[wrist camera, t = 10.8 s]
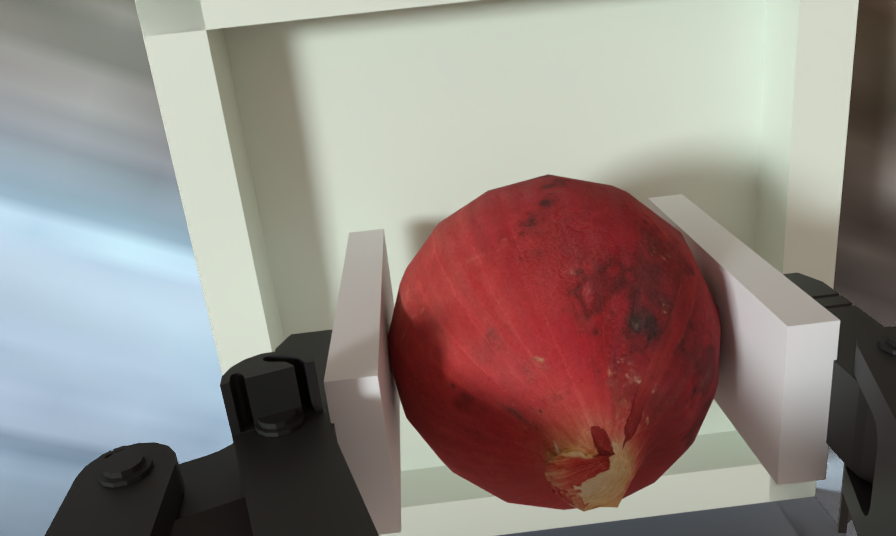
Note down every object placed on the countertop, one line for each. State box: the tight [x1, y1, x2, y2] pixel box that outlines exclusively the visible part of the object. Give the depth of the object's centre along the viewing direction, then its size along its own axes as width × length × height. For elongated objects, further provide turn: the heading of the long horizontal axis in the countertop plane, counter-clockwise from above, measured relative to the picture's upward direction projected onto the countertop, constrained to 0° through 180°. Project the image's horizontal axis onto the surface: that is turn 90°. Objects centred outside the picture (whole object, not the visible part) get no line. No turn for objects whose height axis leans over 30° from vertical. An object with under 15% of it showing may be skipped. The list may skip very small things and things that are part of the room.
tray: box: [135, 0, 859, 536], centre depth 18 cm, size 14×14×2 cm
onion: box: [388, 174, 721, 512], centre depth 14 cm, size 6×6×8 cm
